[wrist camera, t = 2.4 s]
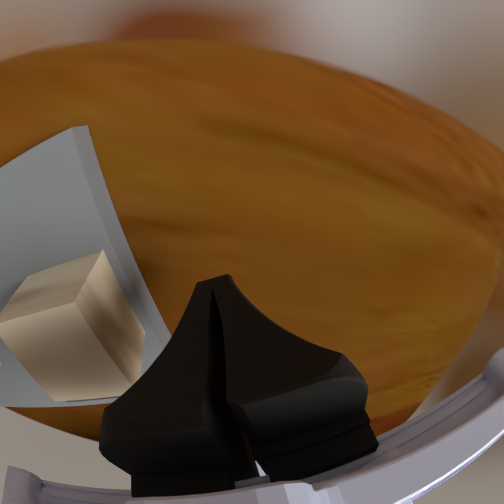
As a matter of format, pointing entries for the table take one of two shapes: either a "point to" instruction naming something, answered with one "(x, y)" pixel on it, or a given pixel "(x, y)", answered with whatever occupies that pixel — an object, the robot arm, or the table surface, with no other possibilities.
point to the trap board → (63, 245)
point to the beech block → (75, 330)
